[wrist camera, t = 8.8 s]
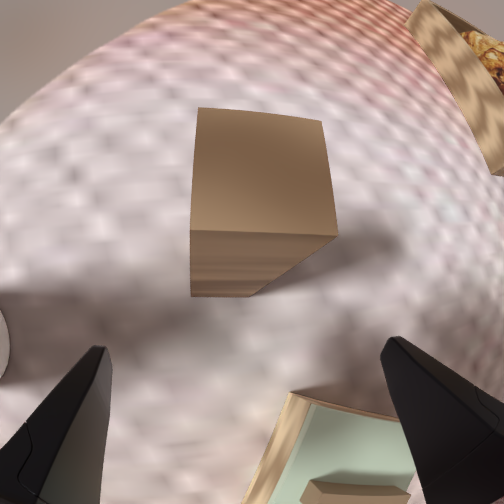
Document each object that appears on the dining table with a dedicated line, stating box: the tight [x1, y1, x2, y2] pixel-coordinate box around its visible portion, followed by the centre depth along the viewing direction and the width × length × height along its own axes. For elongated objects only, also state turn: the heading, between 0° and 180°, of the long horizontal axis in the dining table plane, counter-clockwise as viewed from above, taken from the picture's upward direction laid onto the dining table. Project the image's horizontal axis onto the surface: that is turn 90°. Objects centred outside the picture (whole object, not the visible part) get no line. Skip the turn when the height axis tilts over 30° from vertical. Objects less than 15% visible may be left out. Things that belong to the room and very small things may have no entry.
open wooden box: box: [241, 392, 400, 504], centre depth 17 cm, size 11×10×4 cm
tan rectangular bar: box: [190, 107, 338, 297], centre depth 15 cm, size 4×4×14 cm
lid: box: [267, 404, 416, 504], centre depth 14 cm, size 11×10×3 cm
